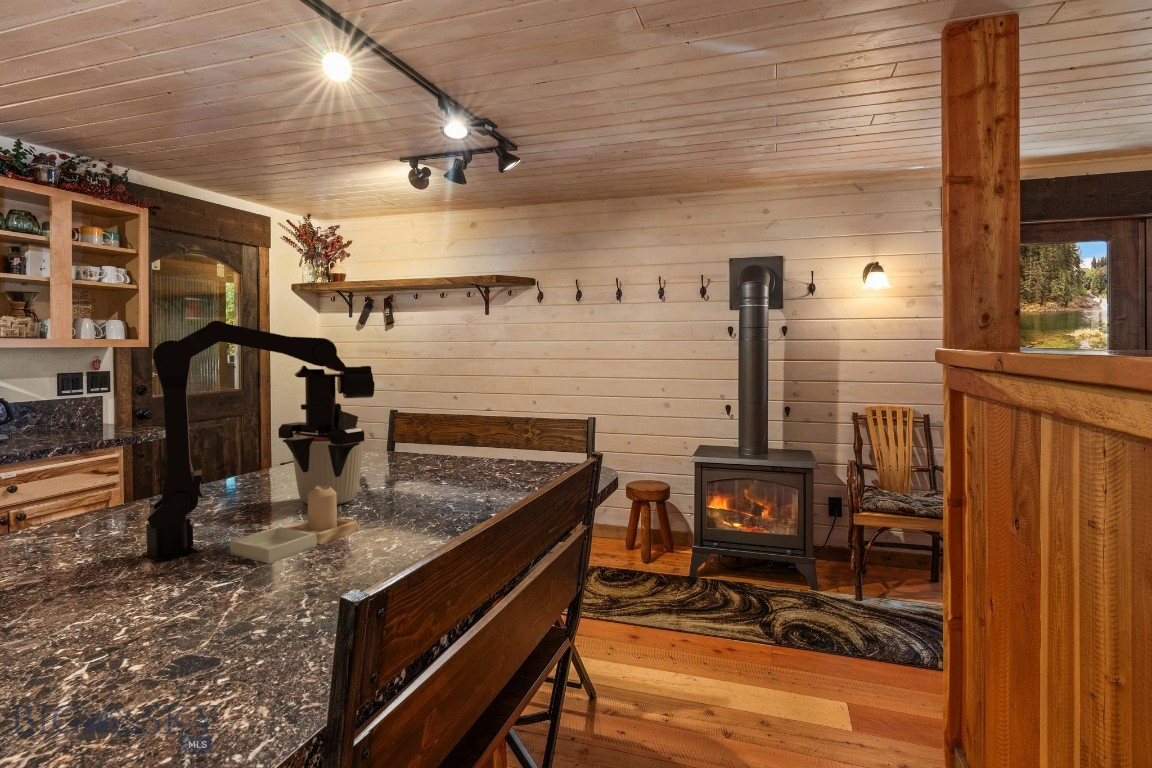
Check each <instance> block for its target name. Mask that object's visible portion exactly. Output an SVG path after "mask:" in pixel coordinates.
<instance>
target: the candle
mask: <svg viewBox="0 0 1152 768" xmlns="http://www.w3.org/2000/svg"><path fill="white" fill-rule="evenodd" d="M337 509H338V508H337V501H336V492H335V491H334V490H333V489H332V488H331V487H330V486H323V487H321V486H317V487H316V488H314V489H313V490H312V491H311V492H310V493H309V494H308V504H307V521H308V530H314V531H319V532H322V531H325V530H329V529H332V528H335V527H337V518H338V517H337V516H338V515H337Z"/></svg>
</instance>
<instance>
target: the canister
mask: <svg viewBox="0 0 1152 768" xmlns="http://www.w3.org/2000/svg"><path fill="white" fill-rule="evenodd" d="M316 432H317V433H318V431H316ZM324 434H327V433H324ZM308 437H313V436H308ZM366 438H367V434H366V433H364V441H362V442H360V443H359V445H356V446H354V447H353V448H352V449H351V451H350V452H349V454H348V457H347V459H346V462H345V465H344V468H343V470H342V473H341V476H339V477H335V474H334V471H333V467H332V462H331V458H330V453H329V448H328V445H331V442H330V441H329V438H322V437H315V438H314V440H313V442H312V443H311V445H310V456H309V469H308V472H303V471H302V470H301V468H300V466H299V464H298V462H297V461H296V459H295V457H294V455H293V454H292V458H293V465H294V466H293V467H294V474H295V475H294V476H295V480H296V487H297V492H298V496H299V498H300V500H301V501H302V502H303V503H305V505H308V494H309V493H310V492H311V491H312V490H313V489H314V488H316V487H317V486H321V487H323V486H330V487H331V488H332V489H333V490H334V491H335V492H336V501H337V505H341V504H342V505H343V504H345V503H350V501H352V500H354V499H355V497H356V496H357V494H358V491H359V486H360V478H361V469H362V463H363V462H362V461H363V452H364V451H363V450H364V442H365V439H366Z"/></svg>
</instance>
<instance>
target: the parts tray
mask: <svg viewBox="0 0 1152 768" xmlns="http://www.w3.org/2000/svg"><path fill="white" fill-rule="evenodd" d="M316 547H318V544H317V534H315V533H310V532H305V531H300V530H295V529H290V528H285V527H284V526H276V527H275V526H274V527H272V528H269V529H265V530H262V531H258V532H256V533H251V534H249V535H246V536H242V537H238V538H236V539H232V540H229V555H232V556H236V557H240V558H245V559H249V560H253V561H258V562H261V563H266V564H271V563H274V562H277V561H279V560H283V559H286V558H288V557H291V556H294V555H297V554H299V553H303V552H305V551H308V550H311V549H313V548H316Z"/></svg>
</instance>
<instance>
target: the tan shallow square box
mask: <svg viewBox="0 0 1152 768" xmlns="http://www.w3.org/2000/svg"><path fill="white" fill-rule="evenodd" d="M285 528H290V529H295V530H300V531H305V532H310V533H315V534H317V545H323V544H326V543H329V542H331V541H334V540H337V539H340V538H343V537H345V536H348V535H351V534H354V533H357V532H359V521H355V520H349V519H343V518H339V517H337V527H335V528H332V529H329V530H325V531H322V532H319V531H314V530H308V520H305V521H303V522H299V523H295V524H293V525H289V526H286V527H285Z"/></svg>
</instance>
